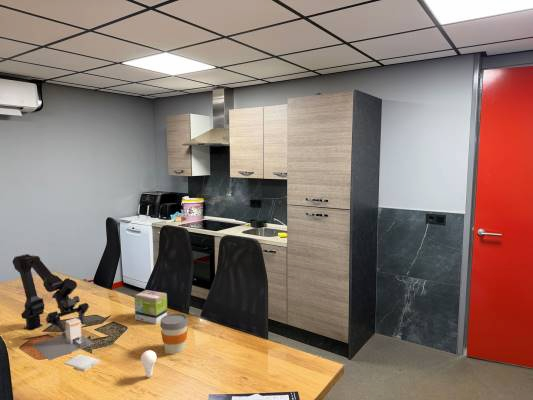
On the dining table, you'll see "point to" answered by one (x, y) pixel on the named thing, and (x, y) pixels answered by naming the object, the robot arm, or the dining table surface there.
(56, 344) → the mounting plate
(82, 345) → the rail
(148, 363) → the lightbulb
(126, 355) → the dining table surface
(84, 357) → the hard drive
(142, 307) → the tea box
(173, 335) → the reusable coffee cup
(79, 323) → the block
